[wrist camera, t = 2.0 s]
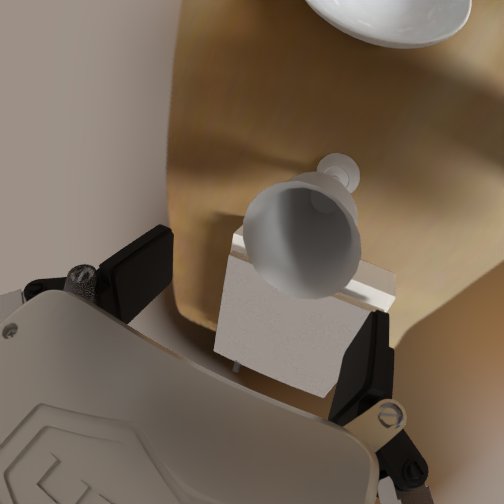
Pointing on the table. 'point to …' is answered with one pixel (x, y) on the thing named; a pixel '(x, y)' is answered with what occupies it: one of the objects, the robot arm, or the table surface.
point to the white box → (285, 329)
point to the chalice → (307, 230)
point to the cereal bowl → (395, 20)
